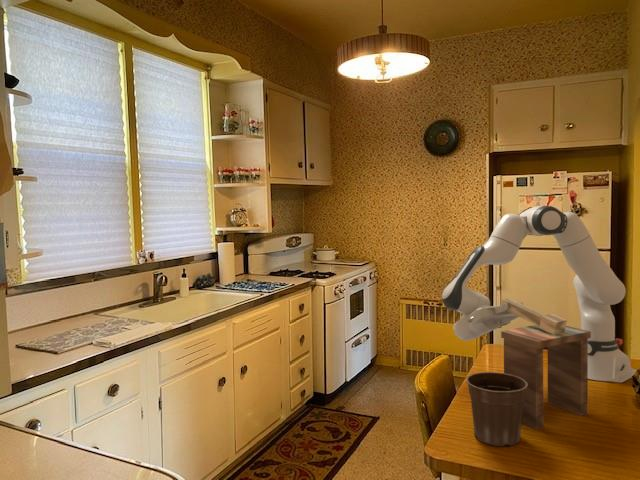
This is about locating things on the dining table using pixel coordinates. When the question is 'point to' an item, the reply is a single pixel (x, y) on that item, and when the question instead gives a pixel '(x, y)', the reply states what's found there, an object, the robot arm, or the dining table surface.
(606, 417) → the dining table surface
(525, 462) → the dining table surface
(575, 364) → the shelf
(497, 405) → the plant pot
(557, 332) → the marker stick
